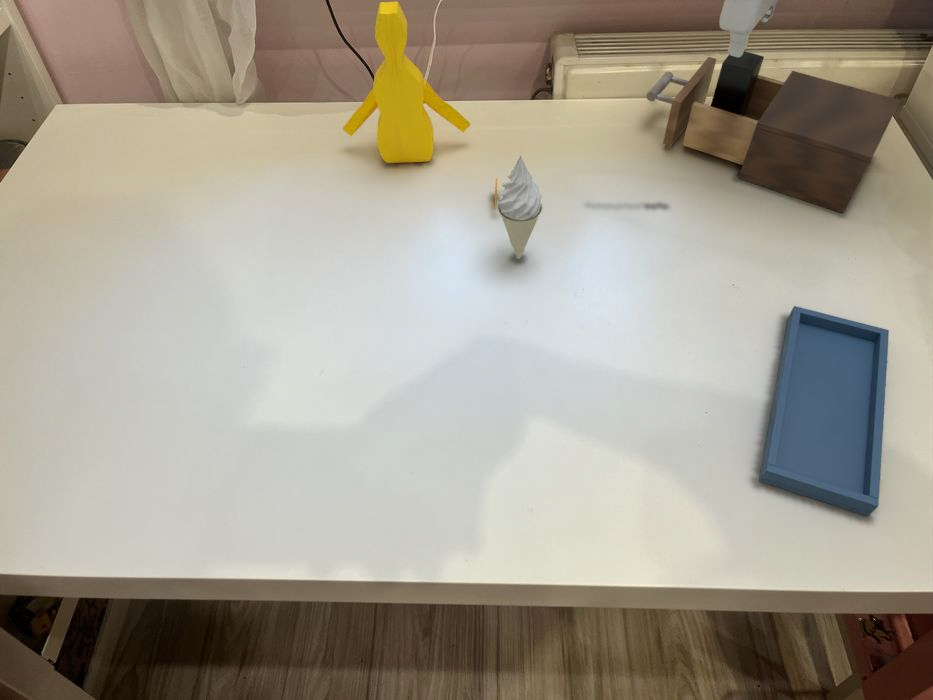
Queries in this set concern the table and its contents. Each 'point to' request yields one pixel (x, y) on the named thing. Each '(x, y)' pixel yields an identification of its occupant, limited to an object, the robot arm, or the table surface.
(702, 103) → the drawer
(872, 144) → the small wooden cabinet
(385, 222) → the table surface
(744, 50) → the robot arm
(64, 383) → the table surface
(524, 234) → the ice cream cone
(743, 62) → the block
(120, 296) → the table surface
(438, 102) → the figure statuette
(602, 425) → the table surface
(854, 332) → the tray
